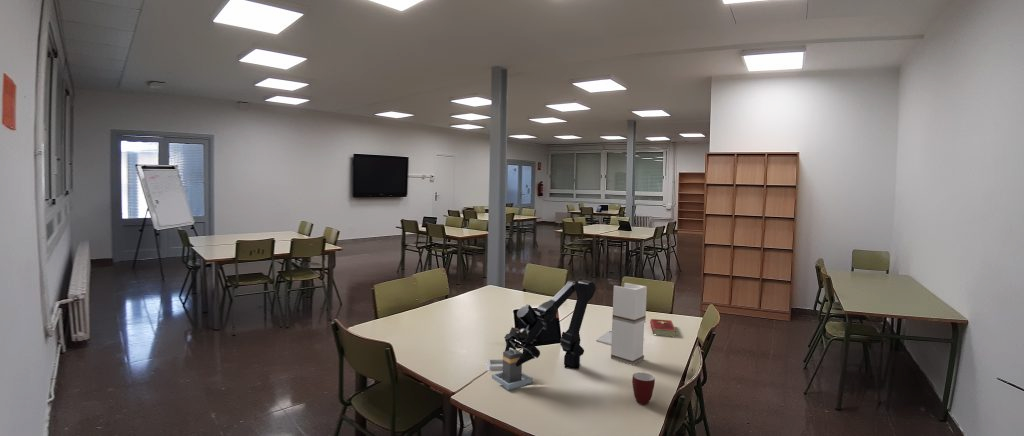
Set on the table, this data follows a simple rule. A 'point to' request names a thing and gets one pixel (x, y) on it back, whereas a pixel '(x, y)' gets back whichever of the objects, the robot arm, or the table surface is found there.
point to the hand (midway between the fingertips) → (509, 362)
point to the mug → (643, 387)
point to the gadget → (606, 338)
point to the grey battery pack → (511, 366)
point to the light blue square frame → (515, 384)
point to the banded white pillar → (628, 323)
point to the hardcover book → (662, 327)
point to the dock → (494, 364)
